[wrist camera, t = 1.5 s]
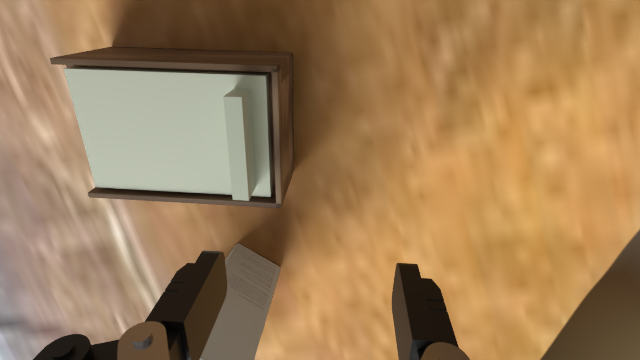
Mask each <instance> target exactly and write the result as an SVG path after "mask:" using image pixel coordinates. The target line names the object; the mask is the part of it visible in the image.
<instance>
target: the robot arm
mask: <svg viewBox="0 0 640 360" xmlns="http://www.w3.org/2000/svg"><path fill="white" fill-rule="evenodd" d="M226 294H227V275H226V266H225V257H224V253H223V252H217V251H202V252H201V254H200V256H199V257H198V259H197V261H196V262H195V263H187V264H186V265H185V266H183V267H182V268H181V269H180V270H178V271H177V272H176V274H175V275H174V277H173V279H172V280H171V283H170V284H169V285H168V286H167V288H166V289H165V292H164V293H163V294H162V296H161V297H160V299H159V300H158V302H157V303H156V305H155V307H154V308H153V310H152V311H151V313H150V314H149V316H148V317H147V319H146V321H145V322H142V323H139V324H137V325H135V326H133V327H131V328H129V329H128V330H127V331H126V332H125V333H124V334H123V335H122V336H121V338H120V339H119V340H115V341H110V342H105V343H100V344H95V345H91V343H90V341H89V339H88V338H87V337H86V336H84V335H81V334H72V335H67V336H64V337H61V338H59V339H57V340H55V341H53V342H52V343H50V344H49V345H47V346H46V347H45V348H44V349H43V350H42V351H41V352H40V353H39V354H38V355H37V356H36V357H35V358H34V359H33V360H200V357H201V355H202V353H203V350H204V348H205V346H206V343H207V341H208V338H209V336H210V334H211V331H212V329H213V327H214V324H215V322H216V319H217V317H218V315H219V312H220V310H221V308H222V305H223V303H224V300H225V298H226ZM392 313H393V320H394V327H395V335H396V342H397V349H398V356H399V360H470V359H469V358H468V356H467V355H466V354H465V353H464V352H463V351H462V350H461V349H459V347H458V344H457V341H456V338H455V334H454V331H453V328H452V325H451V322H450V319H449V315H448V312H447V309H446V306H445V303H444V299H443V296H442V293H441V290H440V288H439V287H438V286H437V285H436V284H435V282H434V281H433V280H432V279H426V278H421V276H420V272H419V268H418V265H417V264H407V263H397V265H396V270H395V278H394V285H393V292H392Z"/></svg>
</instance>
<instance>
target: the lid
mask: <svg viewBox="0 0 640 360" xmlns="http://www.w3.org/2000/svg"><path fill="white" fill-rule="evenodd" d="M64 72H65V76H66V79H67V83H68V87H69V90H70V94H71V98H72V102H73V105H74V109H75V113H76V116H77V120H78V124H79V128H80V131H81V135H82V139H83V142H84V146H85V150H86V154H87V157H88V161H89V165H90V168H91V172H92V176H93V180H94V183H95V187H99V188H117V189H135V190H154V191H172V192H190V193H209V194H227V195H232V198H233V200H244V201H249V199H250V197H251V196H264V197H271V195H272V192H273V178H272V151H271V124H270V97H269V73H242V72H214V71H186V70H158V69H130V68H102V67H74V66H73V67H69V68H64Z"/></svg>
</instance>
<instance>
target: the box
mask: <svg viewBox="0 0 640 360" xmlns="http://www.w3.org/2000/svg"><path fill="white" fill-rule="evenodd" d="M50 61H51V64H61V65H66V66H67V68H69V67H73V66H74V67H102V68H130V69H158V70H186V71H214V72H242V73H269V97H270V124H271V151H272V178H273V192H272V195H271V197H264V196H251V197H250V199H249V201H244V200H233V198H232V195H227V194H209V193H190V192H172V191H154V190H135V189H117V188H99V187H95V188H94V189H93V190H91V191H90V192H88V196H89V197H93V198H110V199H128V200H146V201H164V202H182V203H199V204H217V205H235V206H253V207H271V208H281V207H282V204H283V201H284V198H285V195H286V192H287V189H288V186H289V183H290V180H291V177H292V174H293V171H294V144H293V53H287V52H256V51H225V50H195V49H164V48H133V47H108V48H102V49H97V50H91V51H86V52H81V53H75V54H70V55H64V56H59V57H54V58H50Z"/></svg>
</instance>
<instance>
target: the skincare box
mask: <svg viewBox="0 0 640 360" xmlns="http://www.w3.org/2000/svg"><path fill="white" fill-rule="evenodd" d="M225 266H226V275H227V294H226V298H225V300H224V303H223V305H222V308H221V310H220V312H219V315H218V317H217V319H216V322H215V324H214V327H213V329H212V331H211V334H210V336H209V338H208V341H207V343H206V346H205V348H204V350H203V353H202V355H201V357H200V360H254V359H255V355H256V351H257V347H258V344H259V341H260V338H261V335H262V332H263V328H264V325H265V321H266V318H267V314H268V311H269V308H270V304H271V301H272V297H273V294H274V290H275V287H276V283H277V280H278V276H279V273H280V269H281V268H280V267H279V266H277V265H276V264H274V263H272V262H271V261H269V260H267V259H265V258H264V257H262V256H260V255H258V254H257V253H255V252H253V251H252V250H250V249H248V248H246V247H245V246H243V245H241V244H239V243H237V244H236V245H235V246H234V247H233V249H232V250H231V251H230V253H229V254H228V256H227V257H226V259H225Z"/></svg>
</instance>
